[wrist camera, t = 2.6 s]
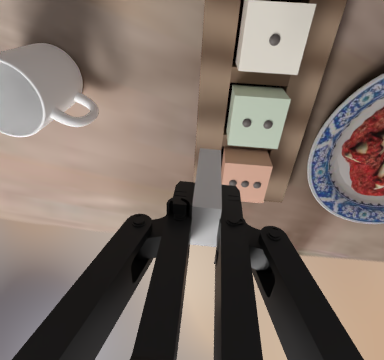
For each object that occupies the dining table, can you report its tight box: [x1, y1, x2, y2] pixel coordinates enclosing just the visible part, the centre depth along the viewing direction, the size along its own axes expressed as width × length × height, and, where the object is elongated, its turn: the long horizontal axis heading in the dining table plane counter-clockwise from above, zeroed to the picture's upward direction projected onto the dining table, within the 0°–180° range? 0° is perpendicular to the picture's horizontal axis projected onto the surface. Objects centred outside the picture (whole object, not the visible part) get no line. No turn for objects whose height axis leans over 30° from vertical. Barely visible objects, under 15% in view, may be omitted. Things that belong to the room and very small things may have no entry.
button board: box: [193, 0, 347, 202], centre depth 34 cm, size 28×14×3 cm, turn 177°
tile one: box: [236, 0, 316, 75], centre depth 27 cm, size 6×6×4 cm
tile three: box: [221, 147, 273, 203], centre depth 36 cm, size 6×6×4 cm
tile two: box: [226, 84, 291, 149], centre depth 32 cm, size 6×6×4 cm
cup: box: [0, 43, 99, 137], centre depth 31 cm, size 8×12×10 cm
